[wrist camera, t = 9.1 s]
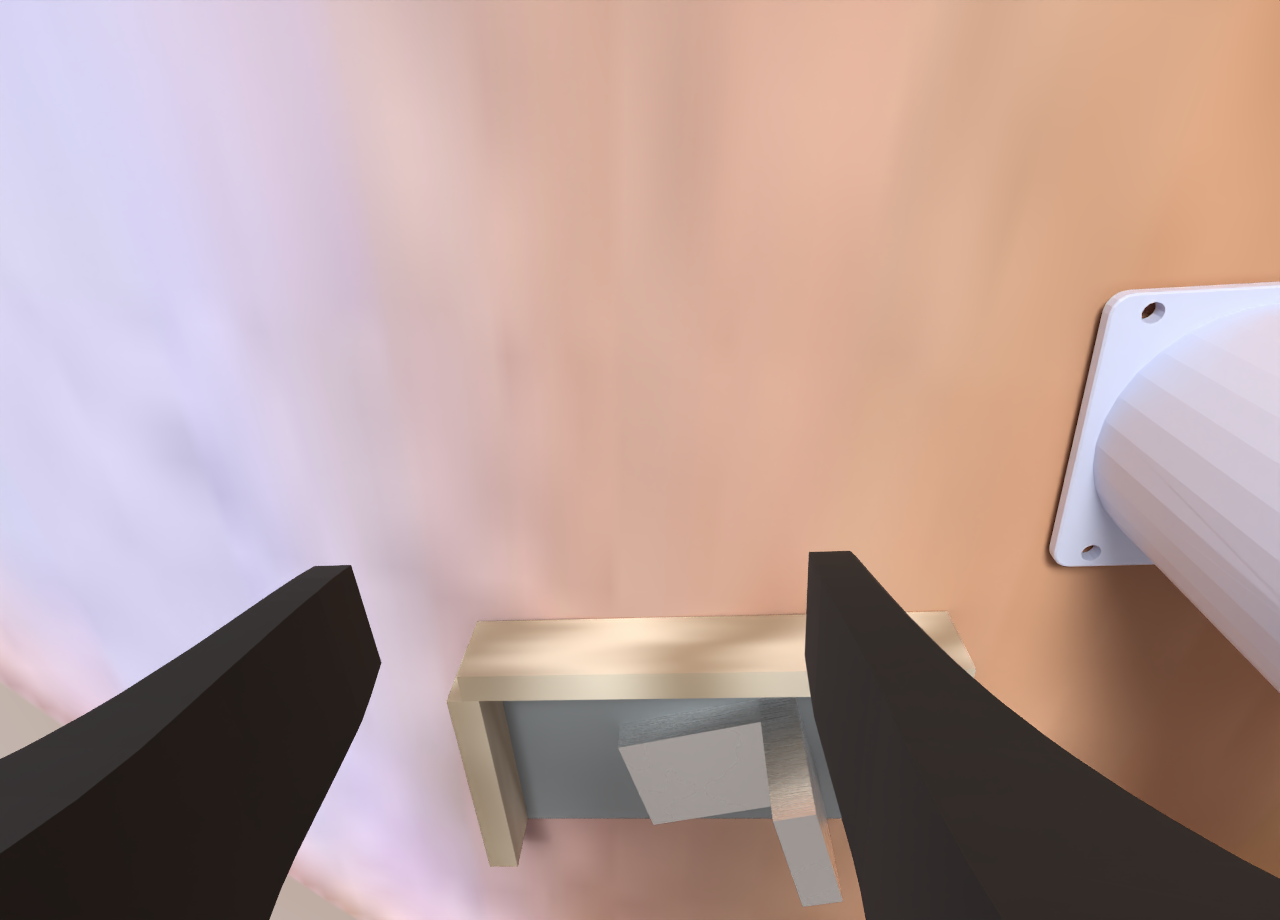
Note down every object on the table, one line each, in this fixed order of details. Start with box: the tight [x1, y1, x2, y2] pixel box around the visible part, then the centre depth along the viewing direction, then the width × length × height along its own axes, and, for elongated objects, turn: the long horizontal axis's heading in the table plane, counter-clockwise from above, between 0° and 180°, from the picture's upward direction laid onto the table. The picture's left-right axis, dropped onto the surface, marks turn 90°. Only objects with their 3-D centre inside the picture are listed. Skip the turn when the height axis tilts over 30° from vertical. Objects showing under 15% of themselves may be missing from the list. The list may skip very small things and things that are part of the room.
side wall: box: [447, 647, 528, 867], centre depth 25 cm, size 1×8×2 cm, turn 4°
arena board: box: [503, 697, 842, 818], centre depth 25 cm, size 14×8×1 cm, turn 94°
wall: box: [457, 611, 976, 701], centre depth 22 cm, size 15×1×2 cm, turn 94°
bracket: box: [618, 697, 843, 907], centre depth 23 cm, size 6×4×4 cm, turn 107°
